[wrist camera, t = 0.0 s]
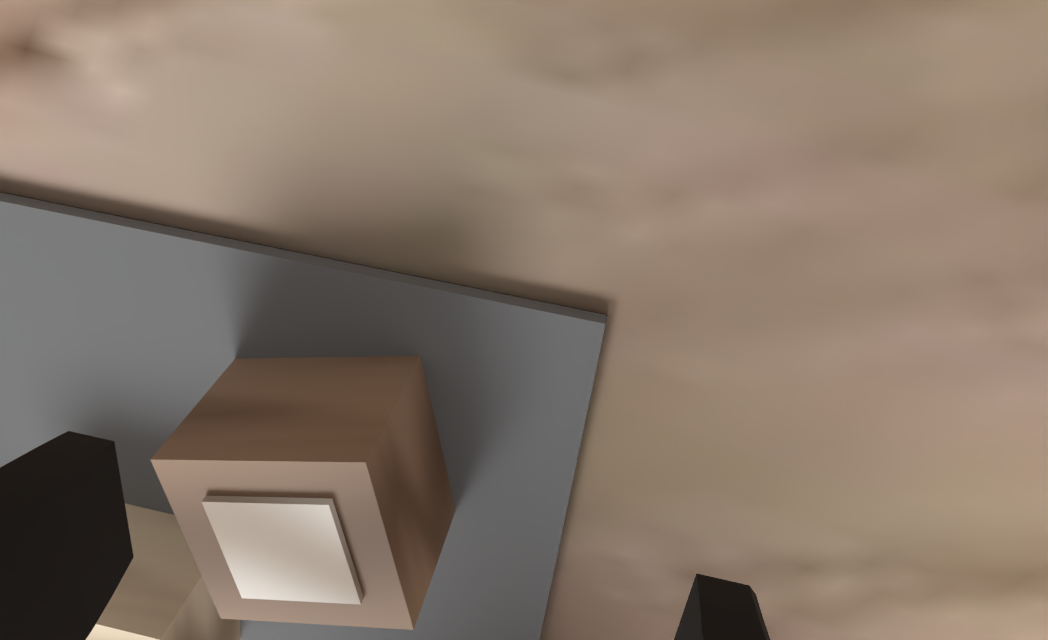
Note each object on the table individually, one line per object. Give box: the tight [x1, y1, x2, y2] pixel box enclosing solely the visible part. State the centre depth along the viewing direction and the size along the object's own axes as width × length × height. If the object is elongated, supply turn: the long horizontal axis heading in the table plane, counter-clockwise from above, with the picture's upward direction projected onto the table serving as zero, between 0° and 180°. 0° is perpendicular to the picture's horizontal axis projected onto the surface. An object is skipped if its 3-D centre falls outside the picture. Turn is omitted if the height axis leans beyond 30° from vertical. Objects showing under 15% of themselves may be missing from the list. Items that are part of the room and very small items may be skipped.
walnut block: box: [150, 356, 456, 630], centre depth 21 cm, size 5×5×4 cm
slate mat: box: [0, 192, 607, 640], centre depth 26 cm, size 20×24×1 cm
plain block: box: [86, 504, 241, 640], centre depth 25 cm, size 5×5×4 cm
